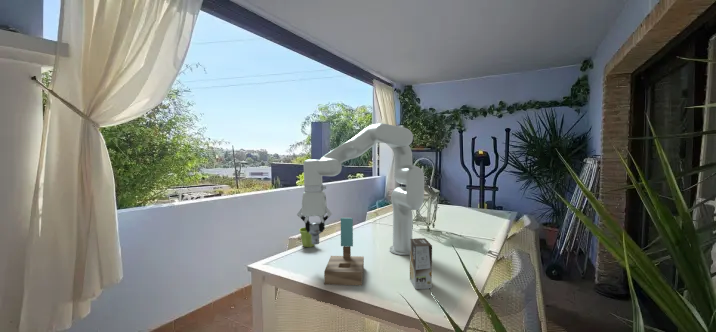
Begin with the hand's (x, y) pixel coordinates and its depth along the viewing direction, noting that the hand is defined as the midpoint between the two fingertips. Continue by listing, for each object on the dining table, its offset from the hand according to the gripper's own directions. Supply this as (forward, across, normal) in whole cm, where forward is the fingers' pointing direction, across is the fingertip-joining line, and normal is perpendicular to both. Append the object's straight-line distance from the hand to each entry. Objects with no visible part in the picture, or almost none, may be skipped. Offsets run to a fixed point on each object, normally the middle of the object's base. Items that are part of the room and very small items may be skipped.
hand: (315, 231), depth 129 cm
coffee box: (+17, -42, +12) cm, 47 cm away
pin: (+5, 0, 0) cm, 5 cm away
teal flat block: (0, -14, +1) cm, 14 cm away
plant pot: (+16, +10, -28) cm, 33 cm away
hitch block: (+16, -13, +8) cm, 22 cm away
